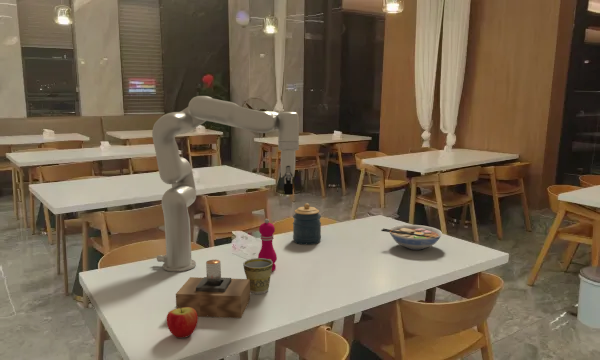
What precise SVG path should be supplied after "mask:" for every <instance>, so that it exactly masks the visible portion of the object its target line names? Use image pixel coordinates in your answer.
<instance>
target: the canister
mask: <svg viewBox="0 0 600 360" xmlns="http://www.w3.org/2000/svg"><path fill="white" fill-rule="evenodd" d="M319 213H320V210H319V209H318V208H316V207H314V206H310V203H304V205H303V206H299V207H297V209H295V210H294V214H293V215H292V218H293V221H292V225H293V228H292V231H293V232H292V233H293V234H292V239H293V240H292V241H293V243H296V244H299V245H316V244H318V243H320V242H321V240H322V239H321V238H322V235H321V234H322V231H321V229H322V227H321V225H322V222H321V218H322V215H321V214H319Z"/></svg>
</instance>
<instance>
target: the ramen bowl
mask: <svg viewBox="0 0 600 360" xmlns="http://www.w3.org/2000/svg"><path fill="white" fill-rule="evenodd" d="M380 232H387V233H389V234H390V236H391V237H392V239H393V241H394V242H396V244H398V245H400V246H402V247H404V248H406V249H408V250H412V251H416V250H417V251H419V250H422V249H426V248H429V247H432V246H433V245H435V244H436V243H437V242H438V241H439V240H440V239H441V237H442V235H443V232H442V231H441V230H440V229H438V228H436V227H432V226H427V225H421V224H420V225H419V224H401V225H395V226H392V227H390V228H389V229H388V228H382V229H381V230H380Z"/></svg>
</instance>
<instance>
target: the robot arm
mask: <svg viewBox="0 0 600 360" xmlns="http://www.w3.org/2000/svg"><path fill="white" fill-rule="evenodd" d="M299 121H300V117H299V114H298V112H296V111H281V112H278V111H272V110H266V111H262V110H255V109H253V108H252V109H251V108H247V107H244V106H241V105H238V104H237V103H235V102H232V101H227V100H221V99H217V98H213V97H211V96H208V95H197V96H194V97H192V98H191V100H189V102H188V106H187V107H186V108H184V109H182V110H181V111H173V112H168V113H166V114H164V115H162V116H160V117H159V118H158V119H157V120H156V121H155V122H154V124H153V127H152V134H151V137H152V141H153V146H154V147H153V148H154V152H155V157H156V164H157V169H158V172H159V173H158V174H159V177H160V180H161V181H162V182H163V183H164V184H167V185H171V187H170V188H169V189H167V190H166V191H165V192H164V193H163V195H162V197H161V209H162V212H163V213H162V214H163V219H164V232H165V233H164V234H165V235H164V236H165V251H166V253H165V255H156V261H157V262H158V263H160V262H161V263H163V264H162V269H163V270H164V271H166V272H175V273H176V272H185V271H189V270H192V269H193V268H195V267H196V264H197V263H196V260H194V259H193V258H192V243H191V242H192V241H191V236H192V234H191V219H190V214H189V210H188V207H190V206H191V205H192V204H193V203H195V201H196V199H197V189H196V184H195V178H194V174H193V168H192V165H191V163H190V162H189V161H188V160H187V159H186V158H184V157H183V156H180V151H179V145H178V143H177V141H176V136H178V135H183V134H188V133H189V132H191V131H193V130H194V129H196V128H198V127H199V126H201V125H202V124H204V123H205V122H211V123H212V122H213V123H216V124H221V125H224V126H225V125H226V126H229V127H234V128H239V129H242V130H246V131H251V132H255V133H260V134H261V133H262V134H268V133H271V132H275V131H277V136H278V137H277V139H278V140H277V142H278V143H277V147H278V149H277V150H278V151H280V178H283V177H284V183H283V195H286V196H287V195H288V196H289V195H290V196H291V195H293V194H294V178H295V173H296V171H295V170H296V151H300V149H299V148H300V147H299V146H300V141H299V138H300V135H299V134H300V130H299V129H300V128H299V127H300V126H299Z"/></svg>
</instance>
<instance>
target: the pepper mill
mask: <svg viewBox="0 0 600 360" xmlns="http://www.w3.org/2000/svg"><path fill="white" fill-rule="evenodd" d="M275 230H276V227H275V225H274V224H273V223H271V222H270V219H269V218H265V219H264V222H263V223H261V224H260V226H259V228H258V232H259V234H260V240H261V248H260V251H259V252H258V256H257V258H264V259H271V260H272V262H273V265H272V272H274V271H275V270H276V269H277V268H276V266H277V265H276V262H277V260H278V256H277V253H276V250H275V249H274V245H273V240H274V238H275V237H274V236H275V235H274V234H275V232H276V231H275Z"/></svg>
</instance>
